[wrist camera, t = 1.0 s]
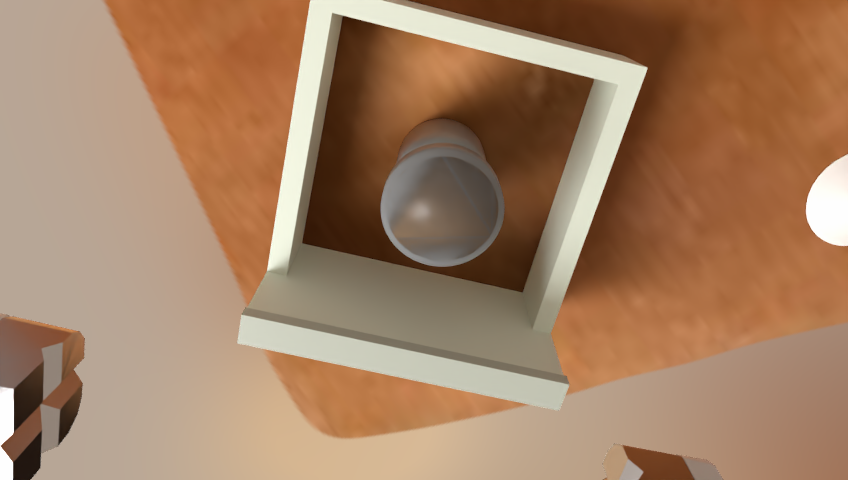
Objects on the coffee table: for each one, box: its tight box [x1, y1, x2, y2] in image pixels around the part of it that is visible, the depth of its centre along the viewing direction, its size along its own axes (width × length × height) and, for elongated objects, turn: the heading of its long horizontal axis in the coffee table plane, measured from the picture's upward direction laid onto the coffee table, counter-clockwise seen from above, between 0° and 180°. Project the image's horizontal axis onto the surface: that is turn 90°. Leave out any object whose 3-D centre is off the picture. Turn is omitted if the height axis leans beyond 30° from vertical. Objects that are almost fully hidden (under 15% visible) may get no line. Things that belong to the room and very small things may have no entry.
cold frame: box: [237, 0, 648, 411], centre depth 37 cm, size 18×18×11 cm
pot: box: [381, 118, 505, 267], centre depth 38 cm, size 6×6×9 cm
